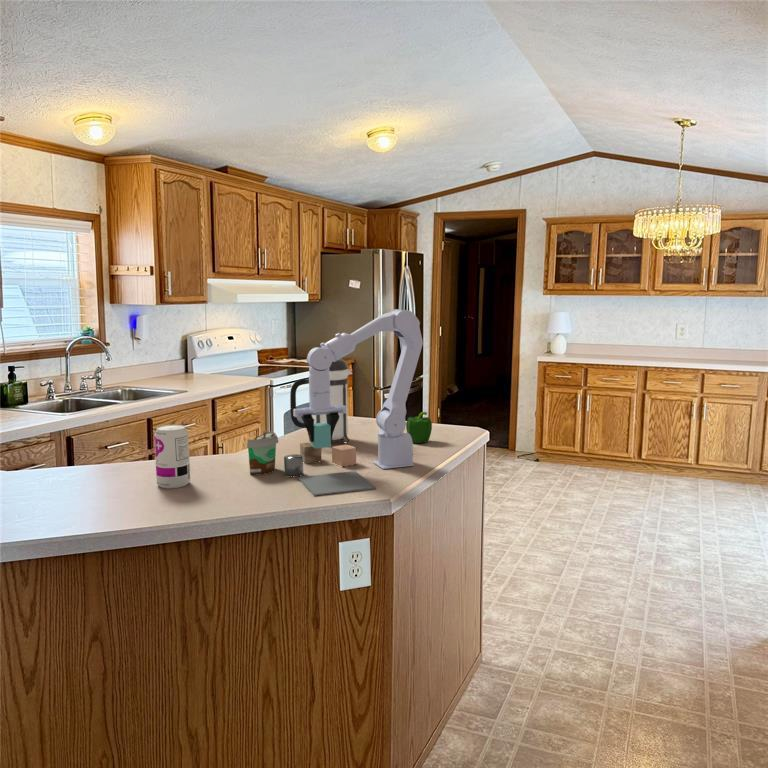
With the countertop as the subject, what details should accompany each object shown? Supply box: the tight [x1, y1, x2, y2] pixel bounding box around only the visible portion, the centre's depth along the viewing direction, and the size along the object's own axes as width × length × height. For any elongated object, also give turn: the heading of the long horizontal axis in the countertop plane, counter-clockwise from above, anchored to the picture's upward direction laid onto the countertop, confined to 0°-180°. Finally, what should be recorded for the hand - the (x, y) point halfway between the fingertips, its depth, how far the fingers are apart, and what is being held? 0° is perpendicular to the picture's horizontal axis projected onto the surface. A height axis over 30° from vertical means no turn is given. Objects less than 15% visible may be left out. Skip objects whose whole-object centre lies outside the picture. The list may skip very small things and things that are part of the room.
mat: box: [297, 470, 377, 497], centre depth 172 cm, size 16×16×1 cm
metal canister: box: [283, 453, 304, 478], centre depth 181 cm, size 5×5×5 cm
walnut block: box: [299, 441, 322, 464], centre depth 195 cm, size 5×5×5 cm
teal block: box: [311, 423, 332, 449], centre depth 184 cm, size 4×4×6 cm
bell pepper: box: [405, 411, 433, 444], centre depth 218 cm, size 8×8×10 cm
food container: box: [246, 430, 279, 476], centre depth 184 cm, size 12×6×10 cm, turn 168°
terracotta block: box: [331, 443, 357, 467], centre depth 191 cm, size 5×5×5 cm
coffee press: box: [289, 358, 353, 444], centre depth 217 cm, size 17×16×30 cm
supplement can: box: [153, 424, 191, 489], centre depth 171 cm, size 8×8×15 cm
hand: (320, 440), depth 184 cm, fingers closed on teal block, 4 cm apart
